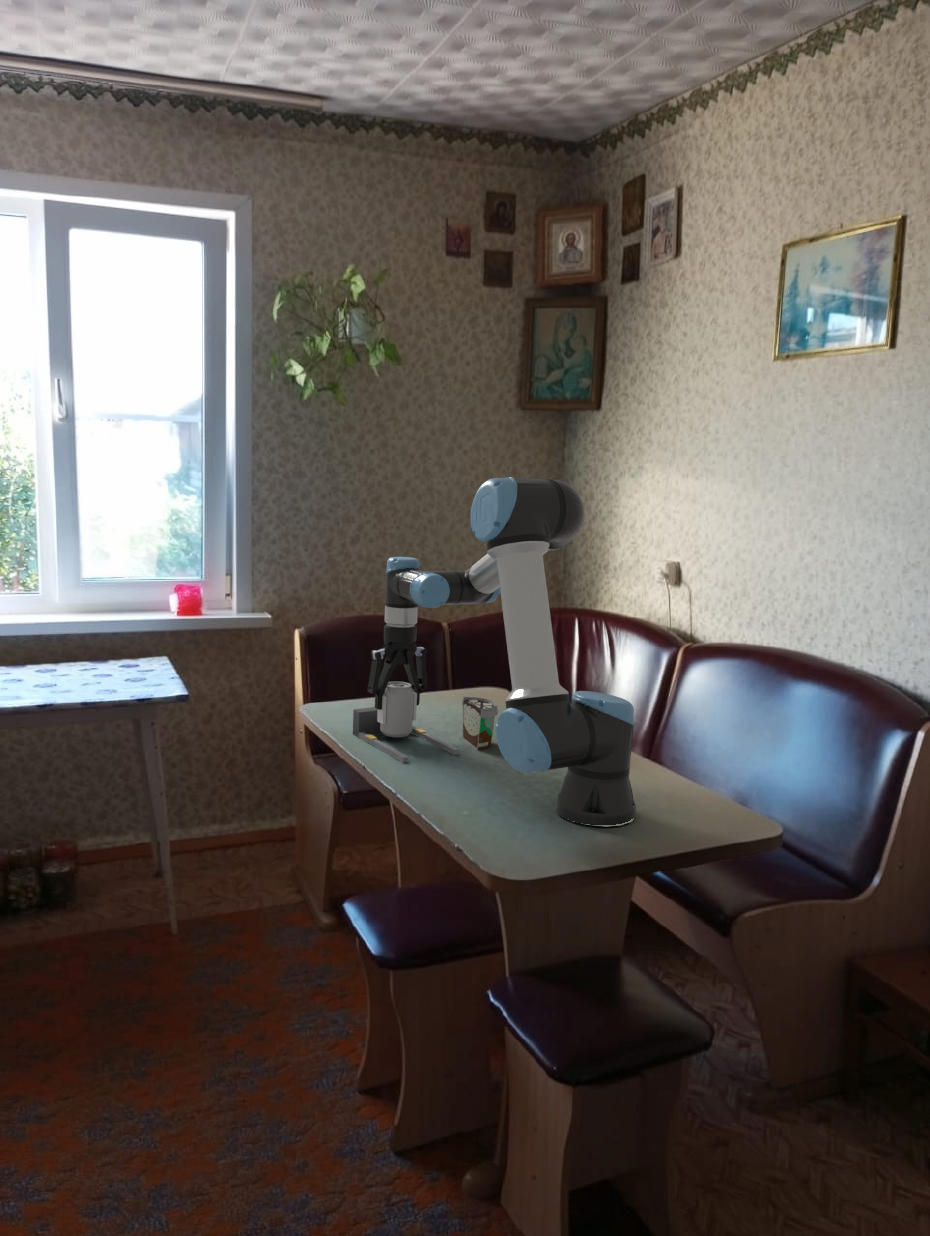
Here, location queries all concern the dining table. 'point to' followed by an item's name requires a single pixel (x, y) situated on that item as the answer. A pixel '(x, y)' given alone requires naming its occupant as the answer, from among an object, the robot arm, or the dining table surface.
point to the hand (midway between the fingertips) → (396, 720)
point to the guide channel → (368, 726)
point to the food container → (478, 721)
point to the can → (398, 709)
